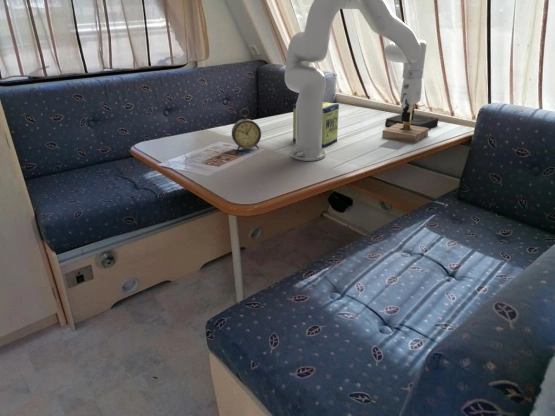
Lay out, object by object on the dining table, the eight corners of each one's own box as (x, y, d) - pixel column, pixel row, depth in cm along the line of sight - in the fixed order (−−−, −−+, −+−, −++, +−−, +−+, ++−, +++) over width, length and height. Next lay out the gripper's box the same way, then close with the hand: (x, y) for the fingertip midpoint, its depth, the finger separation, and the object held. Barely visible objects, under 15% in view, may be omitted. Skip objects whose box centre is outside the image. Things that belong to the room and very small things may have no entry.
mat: (397, 150, 156) (397, 149, 156) (378, 146, 161) (378, 146, 161) (408, 144, 163) (408, 143, 163) (389, 140, 168) (389, 140, 168)
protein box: (324, 148, 161) (326, 108, 154) (292, 142, 169) (292, 104, 162) (338, 141, 168) (339, 103, 161) (306, 136, 177) (306, 99, 170)
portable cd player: (384, 127, 188) (385, 119, 186) (405, 120, 198) (406, 112, 196) (416, 134, 176) (417, 125, 175) (437, 127, 187) (438, 118, 185)
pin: (408, 129, 168) (412, 100, 163) (401, 128, 170) (404, 99, 164) (411, 128, 170) (415, 98, 165) (404, 126, 172) (407, 97, 166)
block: (414, 144, 163) (415, 135, 161) (381, 138, 171) (382, 130, 169) (427, 136, 172) (428, 128, 171) (396, 131, 180) (397, 123, 179)
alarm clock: (234, 153, 158) (231, 110, 150) (232, 148, 162) (229, 107, 155) (262, 150, 160) (260, 108, 153) (258, 146, 165) (257, 105, 158)
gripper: (413, 77, 153) (407, 126, 161) (430, 72, 164) (423, 117, 172) (394, 76, 157) (389, 123, 165) (411, 70, 168) (406, 115, 176)
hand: (407, 120), depth 168 cm, fingers closed on pin, 3 cm apart
